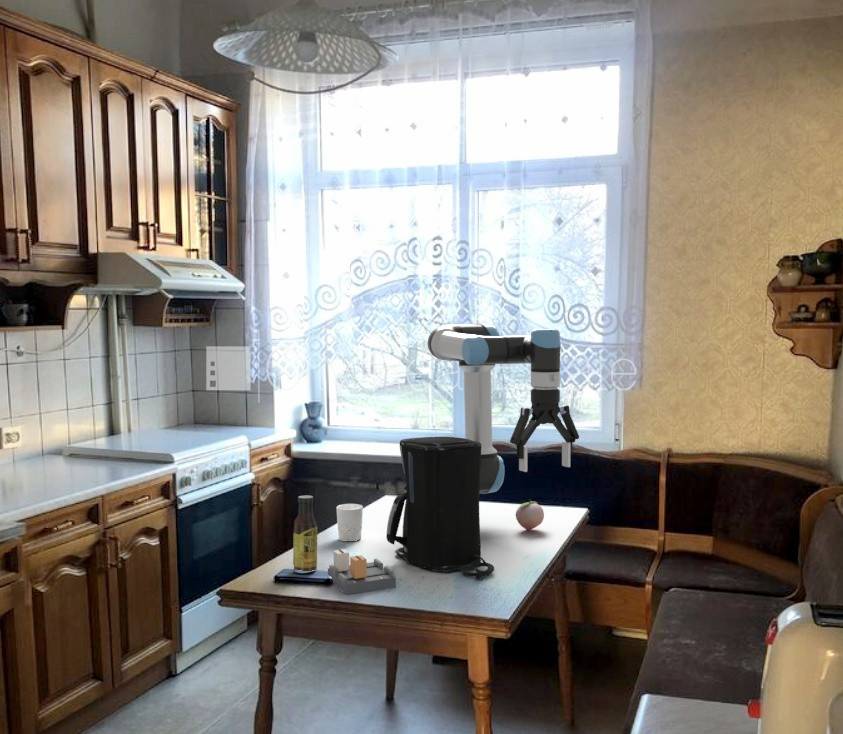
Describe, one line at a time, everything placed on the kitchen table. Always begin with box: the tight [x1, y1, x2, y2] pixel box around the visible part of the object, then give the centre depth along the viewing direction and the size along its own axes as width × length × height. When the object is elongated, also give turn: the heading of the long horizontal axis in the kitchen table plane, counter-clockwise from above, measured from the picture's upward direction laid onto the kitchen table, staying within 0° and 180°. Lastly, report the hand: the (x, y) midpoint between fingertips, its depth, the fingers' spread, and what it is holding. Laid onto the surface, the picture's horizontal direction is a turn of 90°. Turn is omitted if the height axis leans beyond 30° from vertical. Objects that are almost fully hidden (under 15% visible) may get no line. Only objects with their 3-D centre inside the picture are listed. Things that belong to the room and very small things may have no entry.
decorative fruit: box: [515, 498, 545, 532], centre depth 249 cm, size 9×8×10 cm
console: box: [327, 558, 397, 596], centre depth 201 cm, size 14×13×4 cm
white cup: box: [336, 503, 364, 542], centre depth 241 cm, size 8×8×10 cm
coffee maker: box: [385, 436, 495, 581], centre depth 218 cm, size 23×32×34 cm
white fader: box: [332, 548, 350, 572], centre depth 202 cm, size 4×3×5 cm
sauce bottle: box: [292, 494, 318, 571], centre depth 210 cm, size 7×6×20 cm
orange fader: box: [349, 554, 368, 579], centre depth 197 cm, size 4×3×5 cm
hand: (544, 468), depth 209 cm, fingers open, 13 cm apart
